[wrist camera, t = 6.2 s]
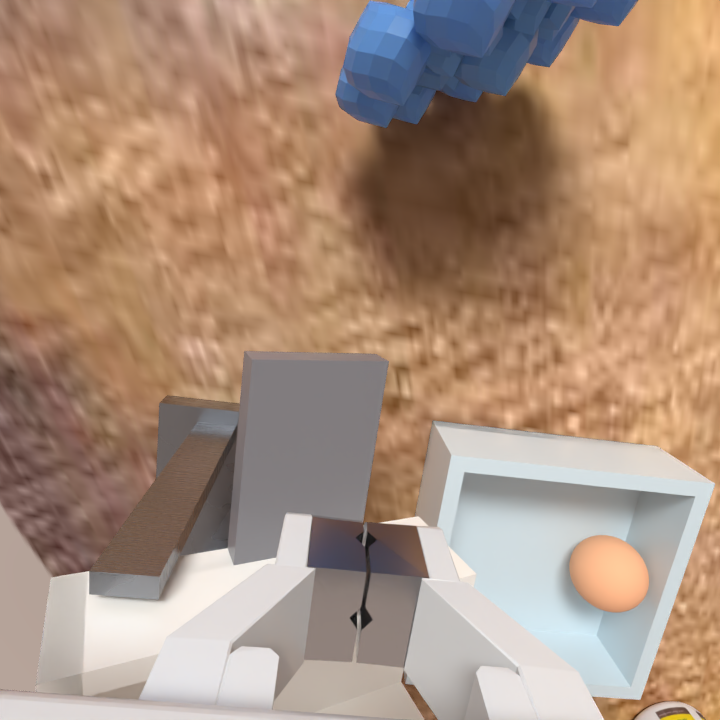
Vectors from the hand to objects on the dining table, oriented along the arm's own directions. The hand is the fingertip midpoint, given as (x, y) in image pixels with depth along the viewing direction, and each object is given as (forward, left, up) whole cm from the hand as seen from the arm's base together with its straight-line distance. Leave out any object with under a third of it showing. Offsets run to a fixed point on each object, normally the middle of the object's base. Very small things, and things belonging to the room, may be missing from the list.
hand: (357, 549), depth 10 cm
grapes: (-3, -15, -18) cm, 23 cm away
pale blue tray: (-12, +10, -17) cm, 24 cm away
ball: (-16, +10, -15) cm, 24 cm away
